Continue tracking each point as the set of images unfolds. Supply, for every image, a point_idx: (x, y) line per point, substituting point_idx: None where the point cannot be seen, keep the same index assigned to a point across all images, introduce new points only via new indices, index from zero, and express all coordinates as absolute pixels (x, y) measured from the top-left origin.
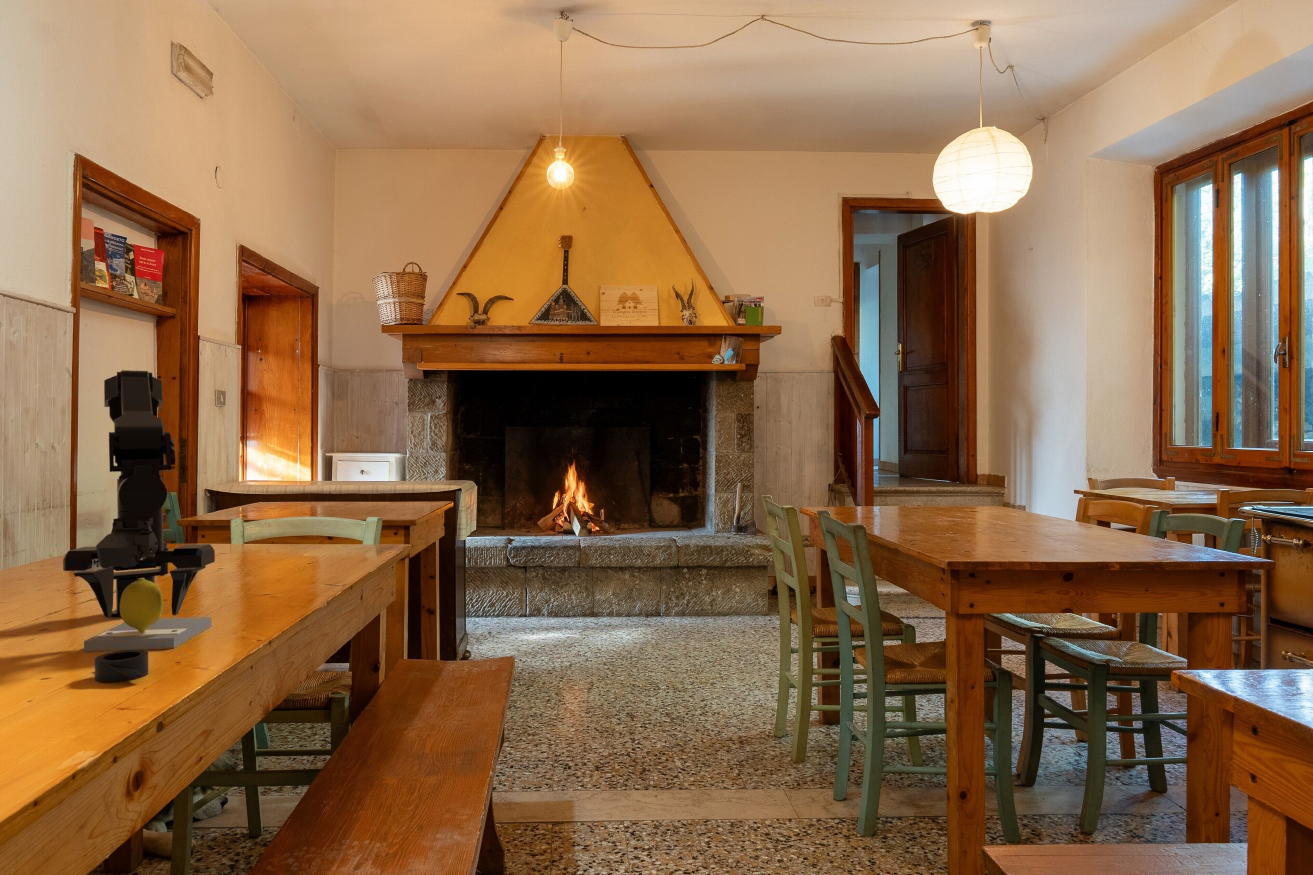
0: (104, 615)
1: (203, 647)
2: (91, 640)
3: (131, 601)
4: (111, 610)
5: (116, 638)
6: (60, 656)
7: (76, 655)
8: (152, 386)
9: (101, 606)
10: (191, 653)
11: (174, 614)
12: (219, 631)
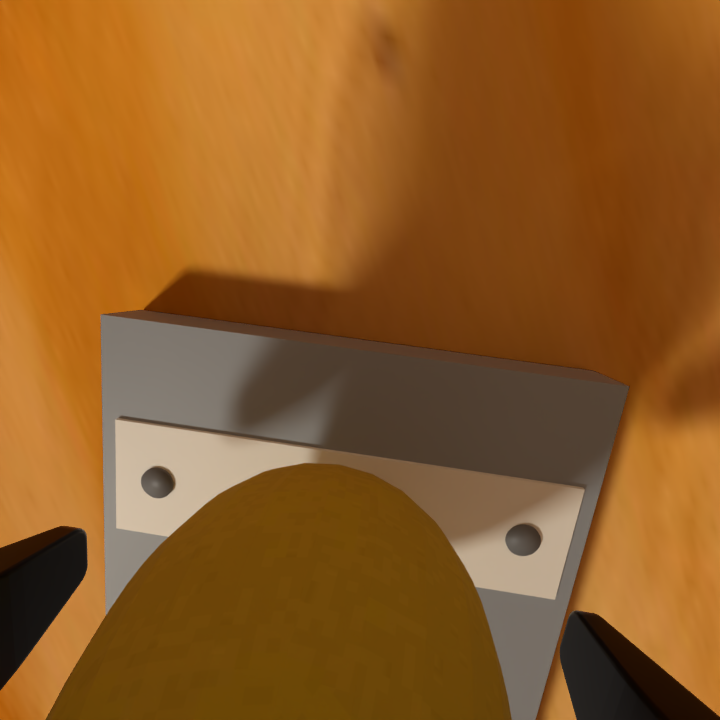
0: (608, 624)
1: (4, 291)
2: (584, 391)
3: (322, 578)
4: (579, 701)
5: (442, 400)
6: (697, 293)
7: (612, 293)
8: None
9: (695, 699)
10: (8, 164)
11: (64, 527)
12: (66, 606)
